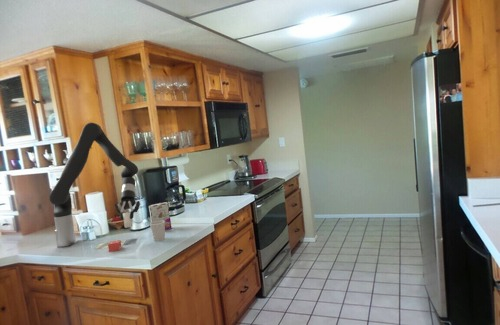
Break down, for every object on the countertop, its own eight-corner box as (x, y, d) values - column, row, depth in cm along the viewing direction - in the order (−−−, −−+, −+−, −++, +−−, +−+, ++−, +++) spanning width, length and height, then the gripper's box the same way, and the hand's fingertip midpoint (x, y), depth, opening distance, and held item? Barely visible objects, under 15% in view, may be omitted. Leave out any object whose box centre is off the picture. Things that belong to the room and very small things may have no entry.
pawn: (123, 228, 182) (121, 214, 181) (125, 226, 186) (123, 212, 185) (131, 226, 182) (129, 213, 182) (133, 225, 186) (131, 211, 186)
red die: (109, 254, 171) (107, 244, 171) (111, 250, 176) (110, 241, 175) (119, 252, 172) (118, 242, 171) (121, 249, 177) (120, 239, 176)
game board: (93, 252, 176) (93, 250, 176) (100, 245, 188) (100, 243, 188) (135, 246, 179) (135, 244, 179) (139, 239, 191) (138, 237, 191)
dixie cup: (148, 242, 185) (146, 224, 184) (157, 237, 192) (155, 220, 192) (161, 242, 182) (159, 224, 181) (170, 237, 190) (168, 219, 189)
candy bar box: (169, 227, 212) (166, 201, 211) (171, 228, 208) (168, 202, 207) (151, 231, 207) (148, 205, 206) (153, 233, 203) (149, 206, 202)
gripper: (113, 191, 190) (111, 217, 179) (139, 187, 192) (138, 213, 181) (117, 198, 195) (115, 224, 184) (142, 195, 197) (141, 220, 186)
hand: (126, 218), depth 183 cm, fingers closed on pawn, 4 cm apart
